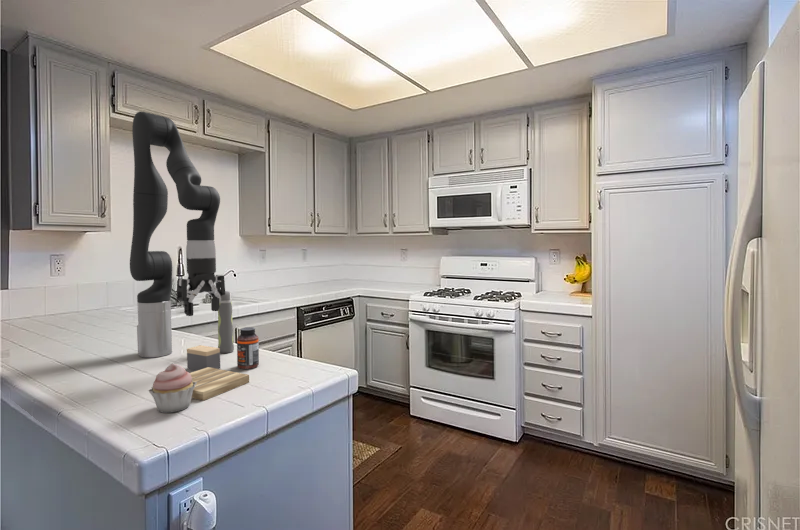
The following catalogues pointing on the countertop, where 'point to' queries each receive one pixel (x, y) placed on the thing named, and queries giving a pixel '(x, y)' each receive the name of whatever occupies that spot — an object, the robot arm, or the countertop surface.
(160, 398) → the cupcake
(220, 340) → the grey water bottle
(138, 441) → the countertop surface
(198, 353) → the block
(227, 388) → the slatted wooden trivet
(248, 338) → the supplement bottle
